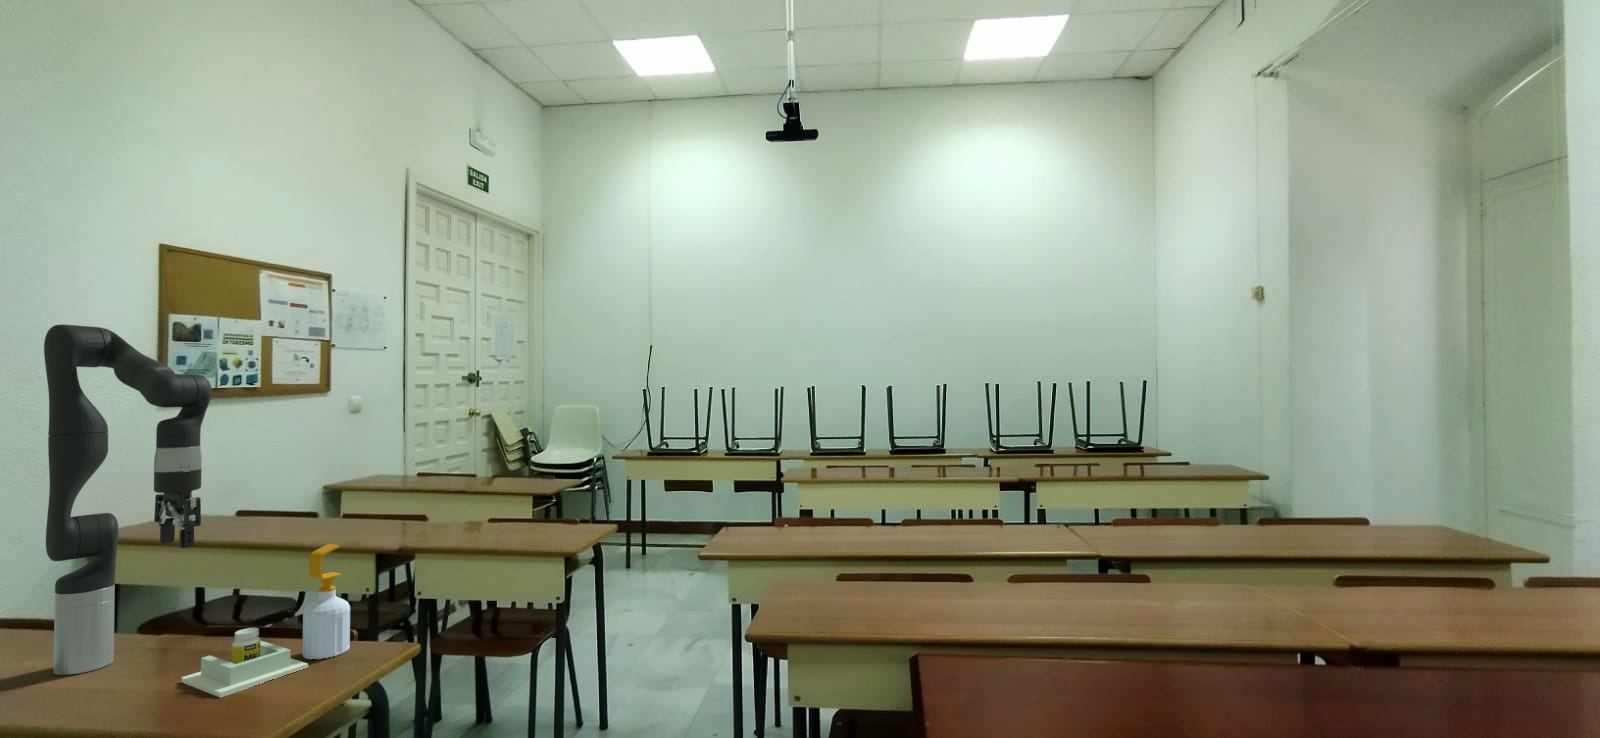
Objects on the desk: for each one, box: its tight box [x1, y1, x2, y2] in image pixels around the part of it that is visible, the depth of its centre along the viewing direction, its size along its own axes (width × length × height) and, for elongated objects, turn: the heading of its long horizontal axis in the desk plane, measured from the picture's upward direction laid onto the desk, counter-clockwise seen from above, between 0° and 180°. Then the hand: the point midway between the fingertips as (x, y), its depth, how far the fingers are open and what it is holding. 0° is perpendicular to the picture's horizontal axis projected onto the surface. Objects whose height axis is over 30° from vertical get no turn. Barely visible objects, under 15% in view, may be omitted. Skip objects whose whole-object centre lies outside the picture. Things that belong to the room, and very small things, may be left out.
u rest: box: [180, 640, 309, 698], centre depth 149 cm, size 16×16×4 cm
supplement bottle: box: [231, 627, 262, 664], centre depth 149 cm, size 5×5×8 cm
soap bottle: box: [302, 543, 351, 660], centre depth 161 cm, size 9×9×25 cm
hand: (176, 545), depth 147 cm, fingers open, 8 cm apart
